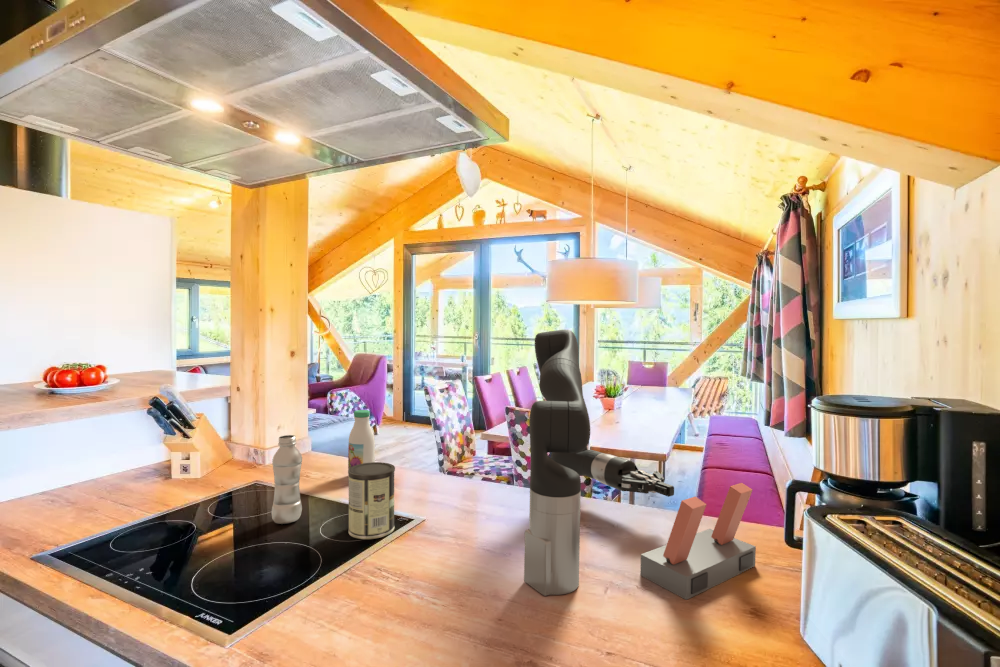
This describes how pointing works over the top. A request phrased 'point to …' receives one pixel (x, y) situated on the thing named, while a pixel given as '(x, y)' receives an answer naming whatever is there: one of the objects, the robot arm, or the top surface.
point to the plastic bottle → (286, 481)
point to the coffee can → (371, 500)
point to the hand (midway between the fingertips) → (672, 491)
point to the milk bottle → (361, 440)
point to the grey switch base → (698, 565)
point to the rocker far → (731, 513)
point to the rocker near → (684, 530)
